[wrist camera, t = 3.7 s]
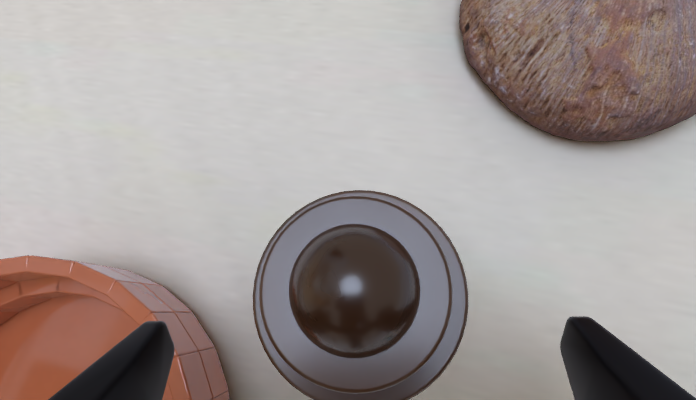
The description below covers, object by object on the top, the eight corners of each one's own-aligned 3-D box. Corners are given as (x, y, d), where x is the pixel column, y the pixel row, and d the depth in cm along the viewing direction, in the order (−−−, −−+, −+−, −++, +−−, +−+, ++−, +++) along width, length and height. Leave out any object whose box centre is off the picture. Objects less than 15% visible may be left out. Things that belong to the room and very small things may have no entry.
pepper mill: (397, 373, 17) (451, 529, 5) (301, 331, 18) (137, 376, 6) (432, 275, 18) (554, 197, 6) (340, 238, 19) (273, 97, 6)
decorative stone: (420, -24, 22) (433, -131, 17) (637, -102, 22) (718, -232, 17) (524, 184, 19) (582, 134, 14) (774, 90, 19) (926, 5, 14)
